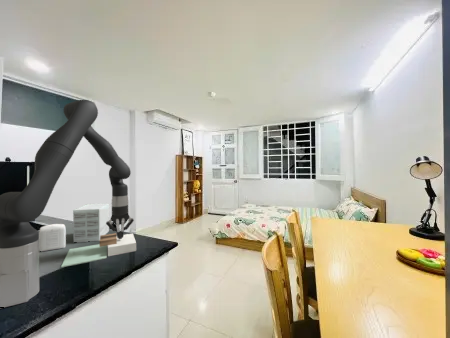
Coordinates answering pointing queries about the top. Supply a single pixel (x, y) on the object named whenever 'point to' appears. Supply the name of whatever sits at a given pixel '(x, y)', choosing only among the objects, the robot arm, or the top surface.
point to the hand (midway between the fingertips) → (120, 238)
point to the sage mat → (85, 255)
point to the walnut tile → (108, 239)
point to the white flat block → (123, 245)
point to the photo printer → (52, 237)
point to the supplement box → (90, 222)
